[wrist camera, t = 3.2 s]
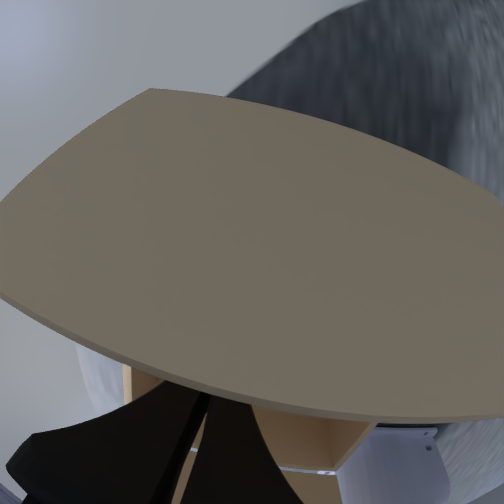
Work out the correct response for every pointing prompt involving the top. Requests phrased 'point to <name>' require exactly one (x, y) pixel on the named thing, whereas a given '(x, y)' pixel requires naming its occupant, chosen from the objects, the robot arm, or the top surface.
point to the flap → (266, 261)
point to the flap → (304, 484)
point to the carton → (282, 430)
